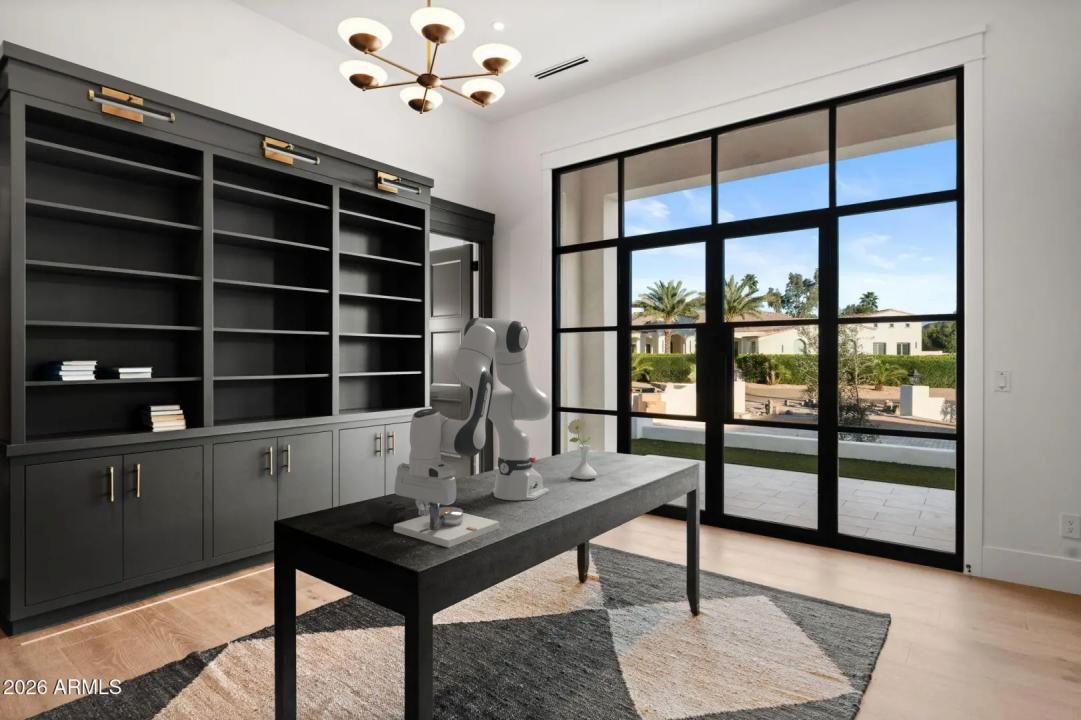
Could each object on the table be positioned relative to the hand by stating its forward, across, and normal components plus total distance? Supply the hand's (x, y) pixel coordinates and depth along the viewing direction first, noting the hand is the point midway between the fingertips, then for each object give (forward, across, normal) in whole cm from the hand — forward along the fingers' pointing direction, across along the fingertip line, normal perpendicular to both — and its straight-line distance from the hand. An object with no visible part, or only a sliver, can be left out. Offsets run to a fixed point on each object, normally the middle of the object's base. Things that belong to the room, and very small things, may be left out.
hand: (423, 515), depth 168 cm
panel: (+7, 0, +10) cm, 12 cm away
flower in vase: (+7, +2, +96) cm, 96 cm away
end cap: (+7, -18, +4) cm, 20 cm away
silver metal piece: (+4, +2, +7) cm, 8 cm away
